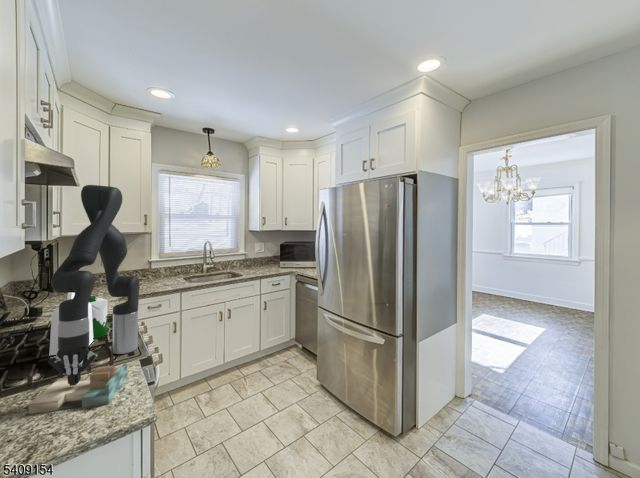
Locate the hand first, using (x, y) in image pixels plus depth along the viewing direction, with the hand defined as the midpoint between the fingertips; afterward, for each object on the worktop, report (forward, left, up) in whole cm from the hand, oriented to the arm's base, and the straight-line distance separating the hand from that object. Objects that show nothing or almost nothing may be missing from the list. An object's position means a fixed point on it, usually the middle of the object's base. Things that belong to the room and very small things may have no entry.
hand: (74, 384), depth 89 cm
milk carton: (-54, -18, -4) cm, 57 cm away
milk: (-39, -20, -4) cm, 44 cm away
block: (0, +8, -1) cm, 8 cm away
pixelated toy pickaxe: (0, +2, -4) cm, 5 cm away
